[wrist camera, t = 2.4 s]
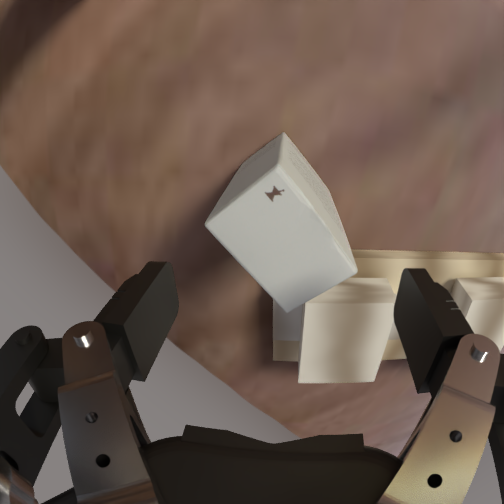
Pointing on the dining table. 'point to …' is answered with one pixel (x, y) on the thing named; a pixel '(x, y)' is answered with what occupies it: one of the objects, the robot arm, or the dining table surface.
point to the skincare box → (283, 226)
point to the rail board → (382, 312)
